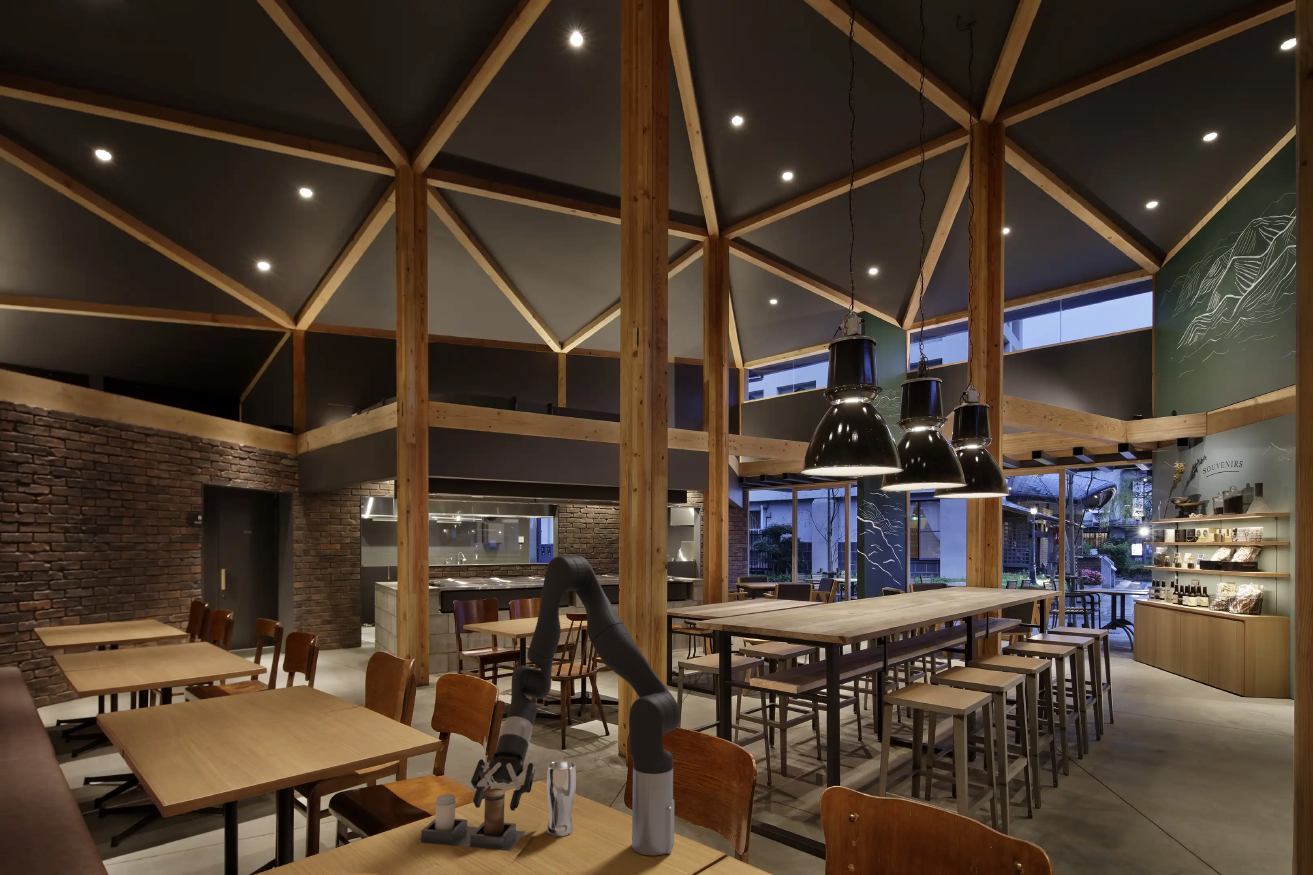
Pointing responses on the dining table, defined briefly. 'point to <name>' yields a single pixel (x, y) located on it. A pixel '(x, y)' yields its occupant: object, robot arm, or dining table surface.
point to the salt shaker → (445, 813)
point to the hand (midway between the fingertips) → (494, 807)
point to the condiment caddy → (472, 836)
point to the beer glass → (560, 797)
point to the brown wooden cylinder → (494, 812)
